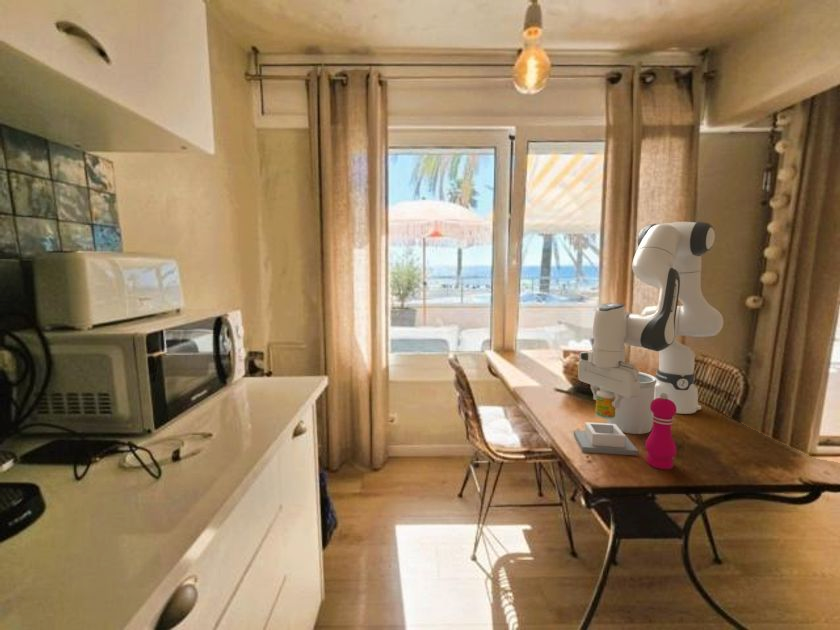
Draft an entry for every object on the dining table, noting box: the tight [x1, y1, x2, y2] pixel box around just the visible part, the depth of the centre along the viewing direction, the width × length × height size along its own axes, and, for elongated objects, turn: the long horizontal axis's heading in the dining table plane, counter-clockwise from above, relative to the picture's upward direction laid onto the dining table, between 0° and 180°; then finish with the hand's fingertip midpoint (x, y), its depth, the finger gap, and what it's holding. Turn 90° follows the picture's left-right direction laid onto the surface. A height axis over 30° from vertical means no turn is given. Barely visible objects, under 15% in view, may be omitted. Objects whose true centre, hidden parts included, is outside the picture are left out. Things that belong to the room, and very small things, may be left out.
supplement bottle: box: [594, 385, 616, 420], centre depth 116 cm, size 5×5×10 cm
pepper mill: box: [644, 393, 677, 470], centre depth 105 cm, size 7×7×20 cm
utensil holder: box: [605, 371, 656, 435], centre depth 131 cm, size 15×15×18 cm
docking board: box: [573, 421, 639, 456], centre depth 118 cm, size 12×15×5 cm
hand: (605, 403), depth 117 cm, fingers closed on supplement bottle, 5 cm apart
